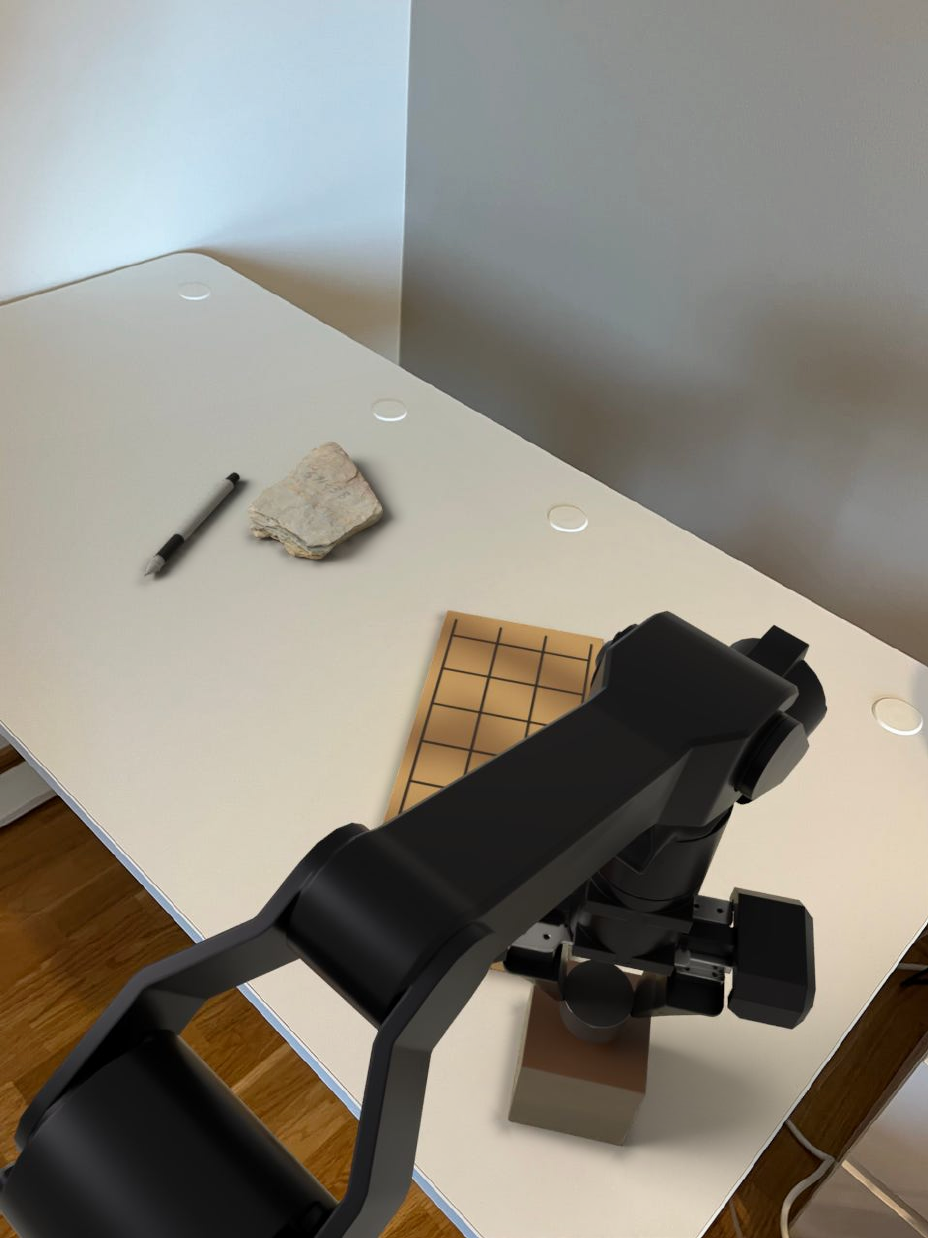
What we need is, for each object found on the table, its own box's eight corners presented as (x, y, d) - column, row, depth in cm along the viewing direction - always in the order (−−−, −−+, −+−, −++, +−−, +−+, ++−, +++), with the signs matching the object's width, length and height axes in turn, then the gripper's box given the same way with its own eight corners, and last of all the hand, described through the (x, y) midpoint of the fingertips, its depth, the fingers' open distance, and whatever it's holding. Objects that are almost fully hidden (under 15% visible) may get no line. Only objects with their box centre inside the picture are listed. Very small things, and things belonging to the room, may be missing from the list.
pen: (242, 482, 108) (241, 472, 107) (151, 584, 96) (149, 573, 95) (230, 479, 108) (229, 468, 107) (139, 579, 97) (136, 568, 96)
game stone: (625, 1050, 59) (631, 1035, 58) (554, 1035, 60) (558, 1019, 58) (631, 984, 62) (637, 967, 61) (563, 969, 62) (568, 952, 61)
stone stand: (621, 1147, 64) (645, 1094, 59) (507, 1120, 65) (520, 1066, 59) (631, 1035, 69) (654, 977, 64) (525, 1012, 70) (538, 952, 64)
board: (552, 982, 72) (555, 973, 71) (350, 938, 73) (350, 929, 72) (601, 648, 94) (604, 637, 93) (446, 619, 96) (447, 609, 95)
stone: (327, 456, 112) (327, 436, 110) (411, 493, 108) (412, 472, 106) (233, 529, 102) (231, 508, 101) (322, 572, 99) (321, 551, 97)
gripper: (843, 750, 54) (763, 910, 65) (480, 681, 56) (462, 848, 67) (858, 948, 46) (764, 1092, 57) (435, 861, 48) (422, 1017, 59)
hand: (596, 1001), depth 60 cm, fingers closed on game stone, 4 cm apart
